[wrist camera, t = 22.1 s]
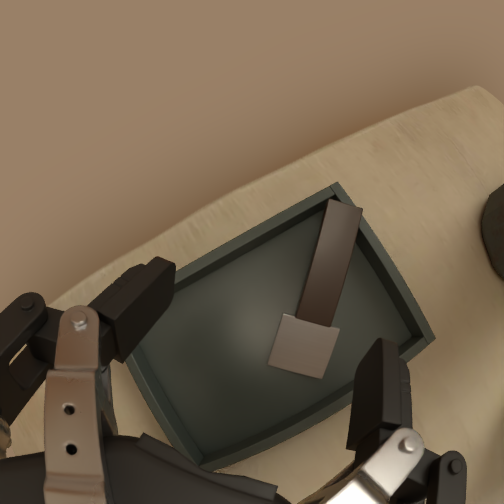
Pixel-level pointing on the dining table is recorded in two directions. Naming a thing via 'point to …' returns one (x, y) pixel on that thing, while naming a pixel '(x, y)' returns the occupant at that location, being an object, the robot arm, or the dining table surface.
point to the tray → (265, 337)
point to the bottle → (495, 229)
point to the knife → (318, 296)
